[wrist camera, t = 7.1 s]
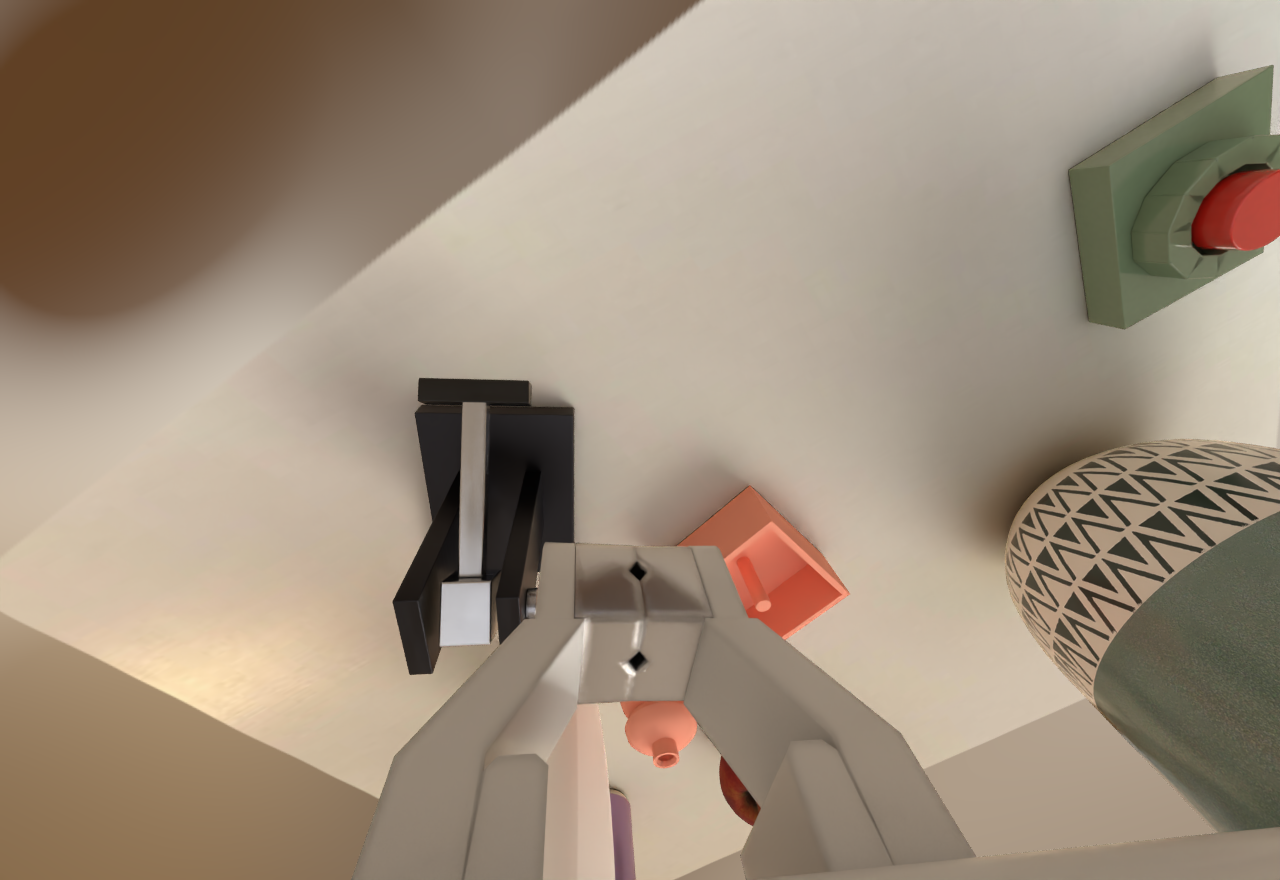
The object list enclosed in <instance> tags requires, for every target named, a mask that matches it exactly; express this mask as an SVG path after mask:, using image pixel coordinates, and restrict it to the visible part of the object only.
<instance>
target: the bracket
mask: <svg viewBox="0 0 1280 880" xmlns="http://www.w3.org/2000/svg"><path fill="white" fill-rule="evenodd" d="M415 418H416V424H417V430H418V436H419V443H420V449H421V455H422V461H423V467H424V473H425V479H426V485H427V491H428V497H429V503H430V509H431V515H432V521H433V522H432V524H431V526H430V528H429V530H428V532H427V534H426V536H425V538H424V540H423V542H422V544H421V546H420V548H419V550H418V552H417V554H416V556H415V558H414V560H413V562H412V564H411V566H410V568H409V570H408V572H407V574H406V576H405V578H404V580H403V582H402V584H401V586H400V588H399V590H398V592H397V594H396V596H395V598H394V600H393V606H394V610H395V614H396V618H397V623H398V627H399V631H400V636H401V640H402V644H403V648H404V653H405V657H406V661H407V666H408V670H409V674H410V675H416V674H432V673H433V671H434V668H435V665H436V662H437V659H438V656H439V653H440V650H441V647H439V619H440V584H441V582H442V581H444V580H445V579H446V578H447V577H448V576H450V575H451V574H452V573H453V572H455V571H456V570H458V555H459V516H460V476H461V437H462V406H435V405H421V406H420V407H419V408H418V409H417V411H416V412H415ZM545 542H554V543H574V408H548V407H492V406H490V439H489V485H488V531H487V570H491V569H500V570H501V575H500V579H499V584H498V588H497V592H496V596H495V603H496V613H497V623H498V633H499V642H500V645H501V644H502V643H503V642H504V640H505V639H506V638H507V637H508V636H509V635H510V634H511V633H512V632H513V631H514V630H515V629H516V628H517V627H518V626H519V625H520V624H521V623H522V622H523V620H524V619H535V612H536V604H537V595H538V588H535V586H536V579H537V572H540V569H541V560H542V552H543V546H544V544H545Z"/></svg>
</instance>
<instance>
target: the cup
mask: <svg viewBox="0 0 1280 880" xmlns="http://www.w3.org/2000/svg"><path fill="white" fill-rule="evenodd" d="M546 763H547V764H548V785H547V805H546V825H545V845H544V865H543V880H615V865H614V846H613V831H612V816H611V802H610V792H609V781H608V770H607V760H606V753H605V746H604V738H603V731H602V724H601V719H600V713H599V707H598V703H593V704H577V709H576V711H575V712H574V714H573V716H572V718H571V719H570V721H569V723H568V725H567V726H566V728H565V730H564V732H563V733H562V735H561V737H560V739H559V740H558V742H557V744H556V746H555V748H554V749H553V751H552V753H551V755H550V756H549V758H548V760H547V762H546Z"/></svg>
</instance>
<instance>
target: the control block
mask: <svg viewBox="0 0 1280 880" xmlns="http://www.w3.org/2000/svg"><path fill="white" fill-rule="evenodd" d="M1273 68H1274V66H1273V65H1270V66H1266V67H1261V68H1257V69H1252V70H1248V71H1244V72H1239V73H1235V74H1230V75H1226V76H1221V77H1218V78H1216V79H1214V80H1213V81H1211V82H1209V83H1208V84H1206V85H1205V86H1203V87H1201V88H1200V89H1198V90H1197V91H1195V92H1193V93H1192V94H1190V95H1189V96H1187V97H1185V98H1184V99H1182V100H1181V101H1179V102H1177V103H1176V104H1174V105H1172V106H1171V107H1169V108H1168V109H1166V110H1164V111H1163V112H1161V113H1160V114H1158V115H1156V116H1155V117H1153V118H1152V119H1150V120H1148V121H1147V122H1145V123H1144V124H1142V125H1140V126H1139V127H1137V128H1136V129H1134V130H1132V131H1131V132H1129V133H1128V134H1126V135H1124V136H1123V137H1121V138H1119V139H1118V140H1116V141H1115V142H1113V143H1111V144H1110V145H1108V146H1107V147H1105V148H1103V149H1102V150H1100V151H1099V152H1097V153H1095V154H1094V155H1092V156H1091V157H1089V158H1087V159H1086V160H1084V161H1083V162H1081V163H1079V164H1078V165H1076V166H1075V167H1073V168H1071V169H1070V170H1069V177H1070V184H1071V191H1072V199H1073V206H1074V214H1075V221H1076V229H1077V236H1078V244H1079V251H1080V258H1081V266H1082V273H1083V281H1084V288H1085V296H1086V303H1087V311H1088V318H1089V322H1091V323H1096V324H1100V325H1105V326H1110V327H1115V328H1120V329H1126V328H1128V327H1130V326H1132V325H1134V324H1135V323H1137V322H1139V321H1141V320H1143V319H1144V318H1146V317H1148V316H1150V315H1152V314H1153V313H1155V312H1157V311H1159V310H1161V309H1162V308H1164V307H1166V306H1168V305H1170V304H1171V303H1173V302H1175V301H1177V300H1179V299H1180V298H1182V297H1184V296H1186V295H1188V294H1189V293H1191V292H1193V291H1195V290H1196V289H1198V288H1200V287H1202V286H1204V285H1205V284H1207V283H1209V282H1211V281H1213V280H1214V279H1216V278H1218V277H1220V276H1222V275H1223V274H1225V273H1227V272H1229V271H1231V270H1232V269H1234V268H1236V267H1238V266H1240V265H1241V264H1243V263H1245V262H1247V261H1249V260H1250V259H1252V258H1254V257H1256V256H1258V255H1259V254H1261V253H1263V251H1264V246H1263V247H1261V248H1258V249H1255V250H1251V251H1232V250H1211V249H1201V248H1199V247H1197V246H1196V245H1194V243H1193V242H1192V234H1191V225H1192V223H1193V221H1194V218H1195V216H1196V214H1197V212H1198V209H1199V207H1200V205H1201V203H1202V201H1203V199H1204V198H1205V197H1206V196H1207V194H1208V193H1209V192H1210V191H1211V190H1212V189H1213V188H1214V187H1215V185H1216V184H1217V183H1218V182H1219V181H1221V180H1222V179H1224V178H1225V177H1227V176H1229V175H1232V174H1234V173H1237V172H1240V171H1247V170H1261V169H1274V168H1280V134H1279V135H1270V123H1271V105H1272V87H1273Z"/></svg>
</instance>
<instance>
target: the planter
mask: <svg viewBox="0 0 1280 880" xmlns="http://www.w3.org/2000/svg"><path fill="white" fill-rule="evenodd" d="M1005 571H1006V579H1007V584H1008V588H1009V592H1010V595H1011V598H1012V600H1013V603H1014V605H1015V607H1016V609H1017V611H1018V613H1019V615H1020V616H1021V618H1022V620H1023V621H1024V623H1025V625H1026V626H1027V628H1028V630H1029V631H1030V633H1031V634H1032V636H1033V637H1034V638H1035V640H1036V641H1037V643H1038V644H1039V645H1040V647H1041V648H1042V649H1043V651H1044V652H1045V653H1046V655H1047V656H1048V657H1049V658H1050V659H1051V660H1052V662H1053V663H1054V664H1055V665H1056V666H1057V667H1058V669H1059V670H1060V671H1061V672H1062V673H1063V674H1064V675H1065V676H1066V677H1067V678H1068V679H1069V681H1070V682H1071V683H1072V684H1073V685H1074V686H1075V687H1076V688H1077V689H1078V690H1079V691H1080V692H1081V693H1082V694H1083V695H1084V696H1085V697H1086V698H1087V699H1088V700H1089V701H1090V703H1092V705H1094V707H1095V708H1096V709H1097V710H1098V711H1099V712H1100V713H1101V714H1102V715H1103V716H1104V717H1105V718H1106V720H1108V721H1109V723H1110V724H1111V725H1112V726H1113V727H1114V728H1115V729H1116V730H1117V731H1118V732H1119V733H1120V734H1121V735H1122V736H1123V737H1124V739H1125V740H1127V742H1128V743H1129V744H1130V745H1131V746H1132V747H1133V748H1134V749H1135V750H1136V751H1137V752H1138V753H1139V754H1140V755H1141V756H1142V757H1143V758H1144V759H1145V760H1146V761H1147V762H1148V763H1149V764H1150V765H1151V766H1152V767H1153V768H1154V769H1155V770H1156V771H1157V772H1158V773H1159V775H1161V777H1162V778H1163V779H1164V780H1165V781H1166V782H1167V783H1168V784H1169V785H1170V786H1171V787H1172V788H1173V789H1174V790H1175V791H1176V792H1177V793H1178V794H1179V795H1180V796H1181V797H1182V798H1183V799H1184V800H1185V801H1186V802H1187V804H1188V805H1189V806H1190V807H1191V808H1192V809H1193V810H1194V811H1195V812H1196V813H1197V814H1198V815H1199V816H1200V817H1201V818H1202V819H1203V820H1204V821H1205V822H1206V824H1207V825H1208V826H1209V827H1210V828H1211V829H1212V830H1213V831H1214V832H1215V833H1224V832H1234V831H1244V830H1254V829H1264V828H1275V827H1280V449H1276V448H1270V447H1264V446H1258V445H1252V444H1244V443H1236V442H1227V441H1218V440H1199V439H1175V440H1160V441H1152V442H1145V443H1138V444H1133V445H1128V446H1124V447H1119V448H1115V449H1111V450H1108V451H1105V452H1102V453H1099V454H1096V455H1093V456H1090V457H1087V458H1085V459H1083V460H1080V461H1078V462H1076V463H1074V464H1072V465H1070V466H1068V467H1066V468H1064V469H1062V470H1061V471H1059V472H1057V473H1056V474H1054V475H1053V476H1052V477H1050V478H1049V479H1047V480H1046V481H1045V482H1044V483H1042V484H1041V485H1040V486H1039V487H1038V488H1037V489H1036V490H1035V491H1034V492H1033V493H1032V494H1031V495H1030V496H1029V497H1028V498H1027V500H1026V501H1025V502H1024V504H1023V505H1022V506H1021V508H1020V509H1019V511H1018V513H1017V514H1016V516H1015V518H1014V520H1013V523H1012V525H1011V528H1010V531H1009V534H1008V539H1007V544H1006V551H1005Z"/></svg>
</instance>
